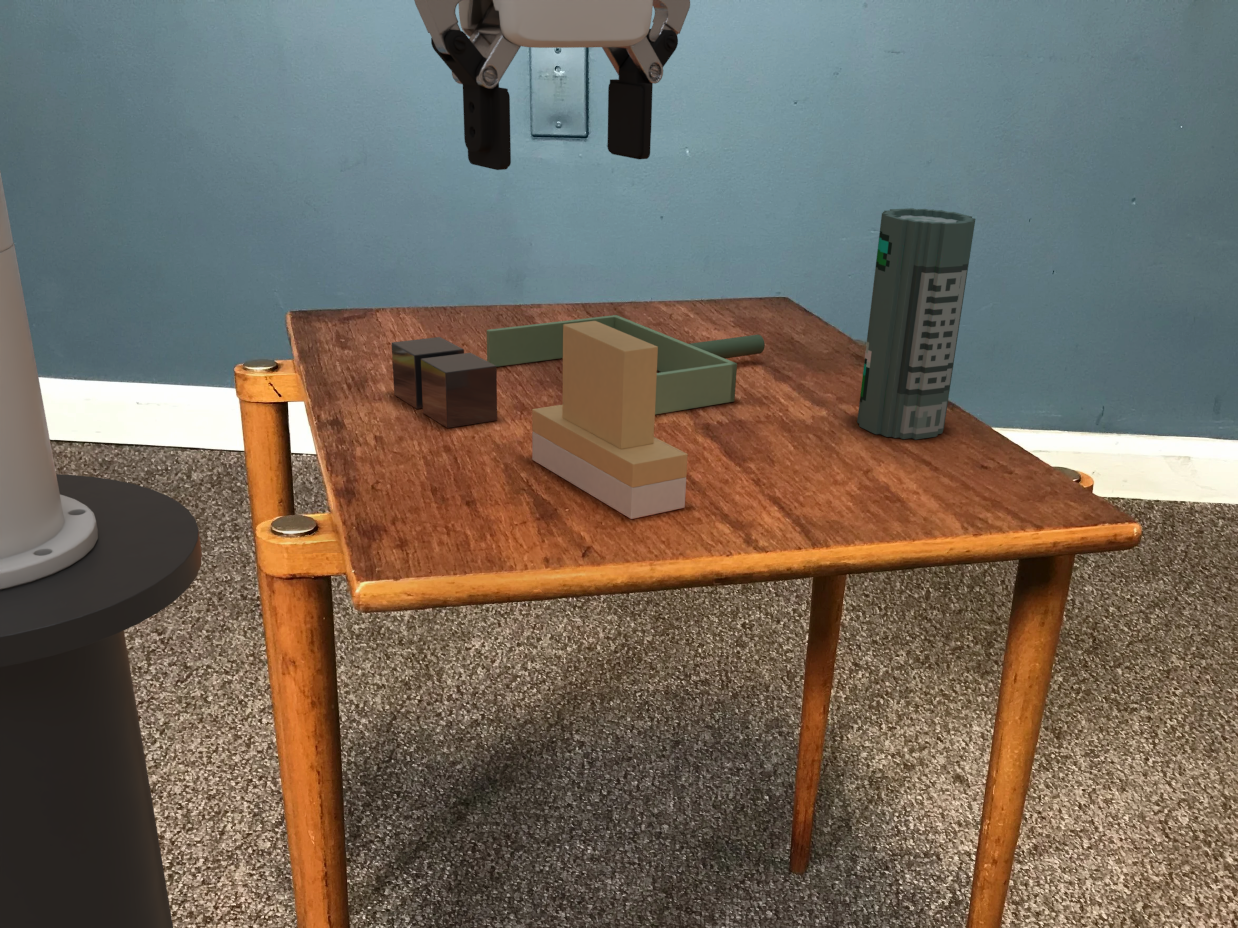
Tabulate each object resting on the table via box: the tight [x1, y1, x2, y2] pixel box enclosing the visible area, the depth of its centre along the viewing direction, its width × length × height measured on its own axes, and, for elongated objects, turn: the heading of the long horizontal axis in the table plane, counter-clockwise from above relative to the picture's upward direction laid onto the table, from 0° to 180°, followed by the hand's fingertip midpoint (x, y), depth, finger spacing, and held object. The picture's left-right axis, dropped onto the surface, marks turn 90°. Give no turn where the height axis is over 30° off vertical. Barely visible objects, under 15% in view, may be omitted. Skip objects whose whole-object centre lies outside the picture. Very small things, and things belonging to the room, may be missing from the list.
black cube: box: [421, 352, 498, 429], centre depth 93 cm, size 4×4×4 cm
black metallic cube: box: [391, 336, 465, 410], centre depth 97 cm, size 4×4×4 cm
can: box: [856, 207, 976, 440], centre depth 93 cm, size 6×6×15 cm
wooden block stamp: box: [531, 321, 689, 520], centre depth 81 cm, size 4×12×10 cm, turn 34°
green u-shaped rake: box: [486, 314, 766, 416], centre depth 105 cm, size 22×17×3 cm
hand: (561, 161), depth 73 cm, fingers open, 9 cm apart
